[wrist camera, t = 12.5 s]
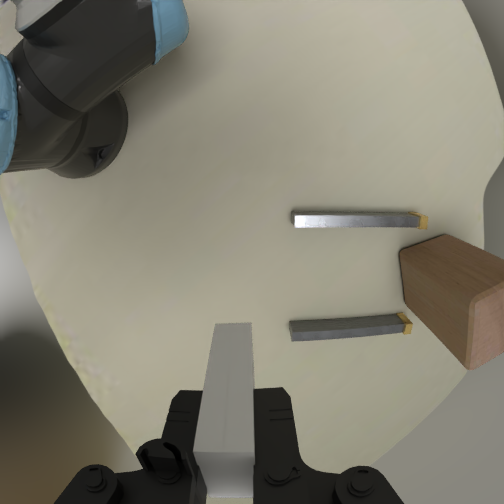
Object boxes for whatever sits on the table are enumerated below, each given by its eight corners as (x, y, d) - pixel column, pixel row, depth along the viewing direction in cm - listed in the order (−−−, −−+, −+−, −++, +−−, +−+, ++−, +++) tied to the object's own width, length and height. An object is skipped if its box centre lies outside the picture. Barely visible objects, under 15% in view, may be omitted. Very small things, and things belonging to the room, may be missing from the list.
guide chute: (291, 210, 42) (295, 215, 38) (414, 212, 42) (428, 216, 38) (289, 330, 47) (292, 344, 43) (400, 322, 46) (410, 333, 43)
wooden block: (446, 231, 42) (533, 270, 23) (451, 286, 45) (524, 341, 26) (396, 249, 43) (474, 302, 24) (403, 305, 46) (468, 376, 26)
